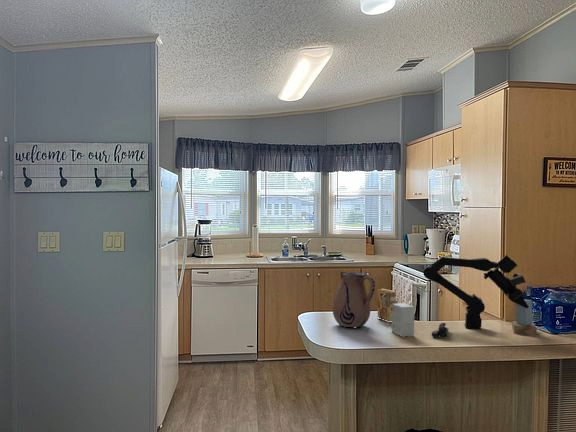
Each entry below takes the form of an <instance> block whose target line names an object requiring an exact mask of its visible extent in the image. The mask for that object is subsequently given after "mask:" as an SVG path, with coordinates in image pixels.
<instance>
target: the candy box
mask: <svg viewBox="0 0 576 432" xmlns="http://www.w3.org/2000/svg"><path fill="white" fill-rule="evenodd" d="M393 304H397V291H396V290H391V289H387V288H379V289H377V318H378V317H379V318H381V319H384V320H387V321H392V306H393Z"/></svg>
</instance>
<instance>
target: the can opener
mask: <svg viewBox="0 0 576 432" xmlns="http://www.w3.org/2000/svg"><path fill="white" fill-rule="evenodd" d="M446 324H447V323H446V322H441V323H439V325H438V330H433V331H432V332H431V336H432V337H433V338H442V339H446V338H448V337H449V336H448V331H449V328H448V327H446Z"/></svg>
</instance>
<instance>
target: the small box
mask: <svg viewBox="0 0 576 432" xmlns="http://www.w3.org/2000/svg"><path fill="white" fill-rule="evenodd" d="M392 332H394V333H396V334H395V335H397V334H398V335H397V336H399V335H400V336H399V337H401V336H402V337H401V338H406V337H405V336H408V337H414V336H415V306H413V305H411V304H407V303H404V302H402V303H396V304H393V306H392V323H391V333H392ZM394 333H393V334H394Z"/></svg>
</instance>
